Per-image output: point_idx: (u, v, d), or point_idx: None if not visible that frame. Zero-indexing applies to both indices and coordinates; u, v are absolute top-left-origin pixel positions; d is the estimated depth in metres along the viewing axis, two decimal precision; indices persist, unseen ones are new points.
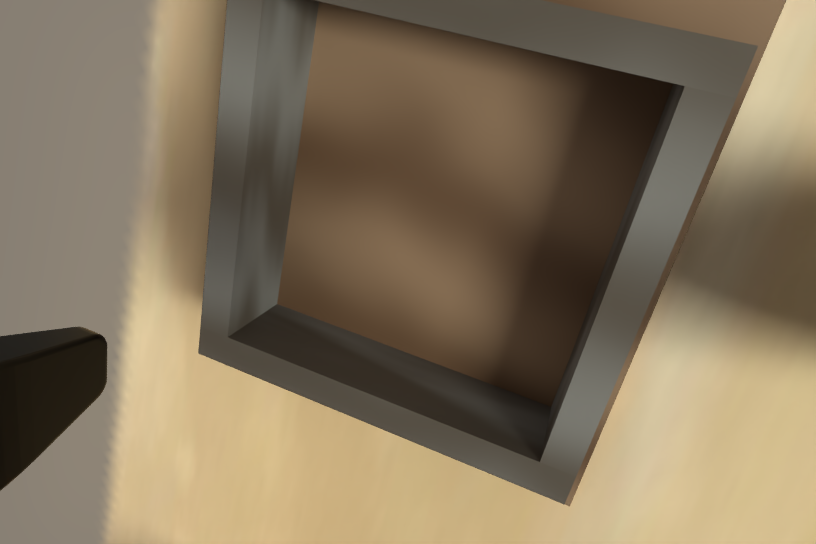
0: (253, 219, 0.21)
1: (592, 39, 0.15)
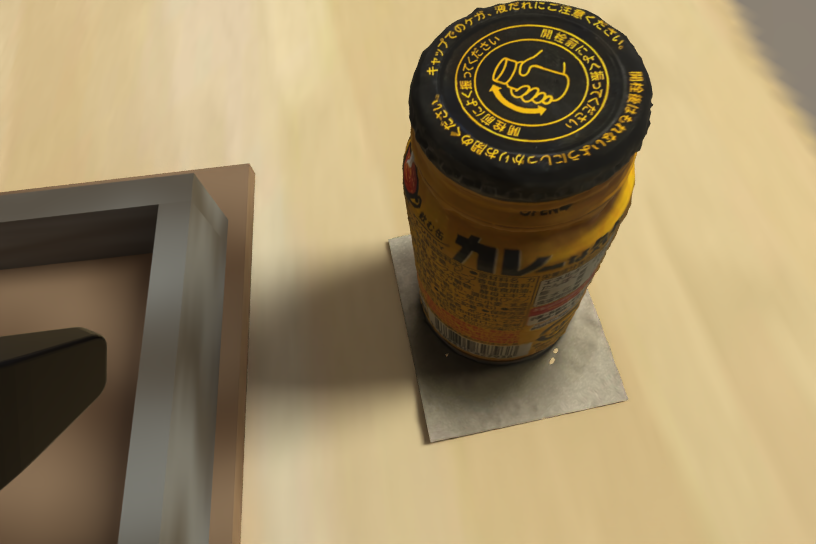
0: None
1: (94, 198, 0.21)
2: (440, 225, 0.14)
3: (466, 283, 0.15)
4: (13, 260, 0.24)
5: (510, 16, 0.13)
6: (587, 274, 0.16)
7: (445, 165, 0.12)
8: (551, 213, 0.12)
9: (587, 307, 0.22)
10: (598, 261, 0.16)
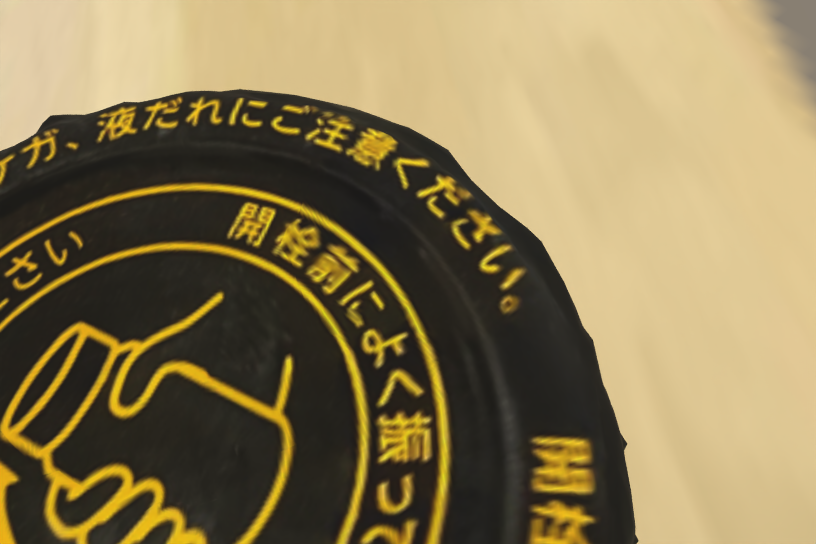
0: None
1: None
2: None
3: None
4: None
5: (140, 153, 0.04)
6: None
7: None
8: None
9: None
10: None
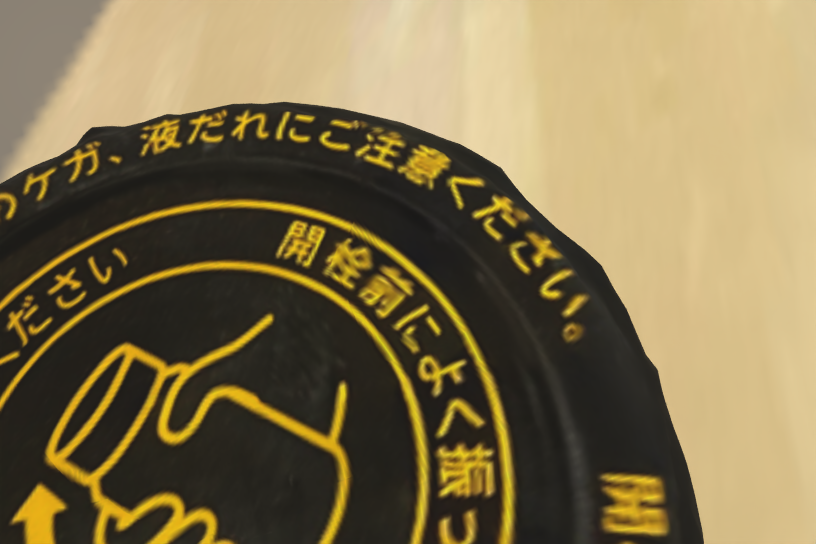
0: None
1: None
2: None
3: None
4: None
5: (186, 167, 0.04)
6: None
7: None
8: None
9: None
10: None
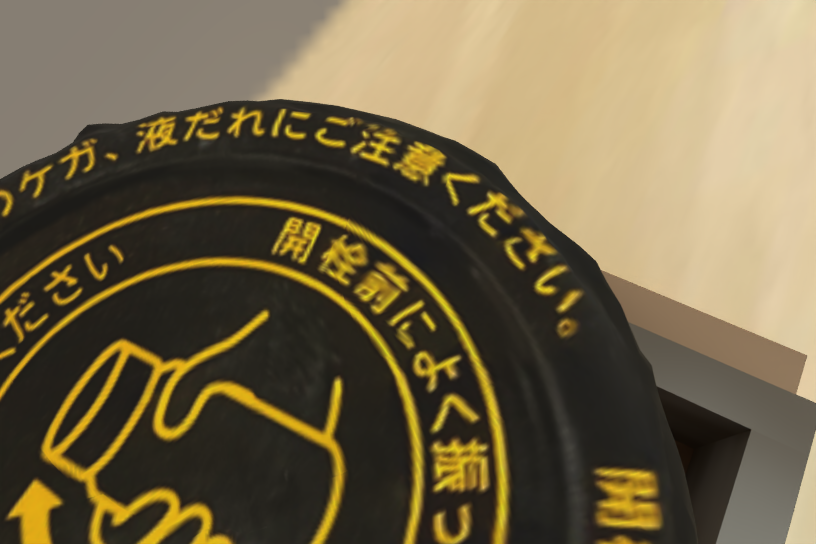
0: None
1: (649, 357, 0.14)
2: None
3: None
4: None
5: (182, 164, 0.04)
6: None
7: None
8: None
9: None
10: None
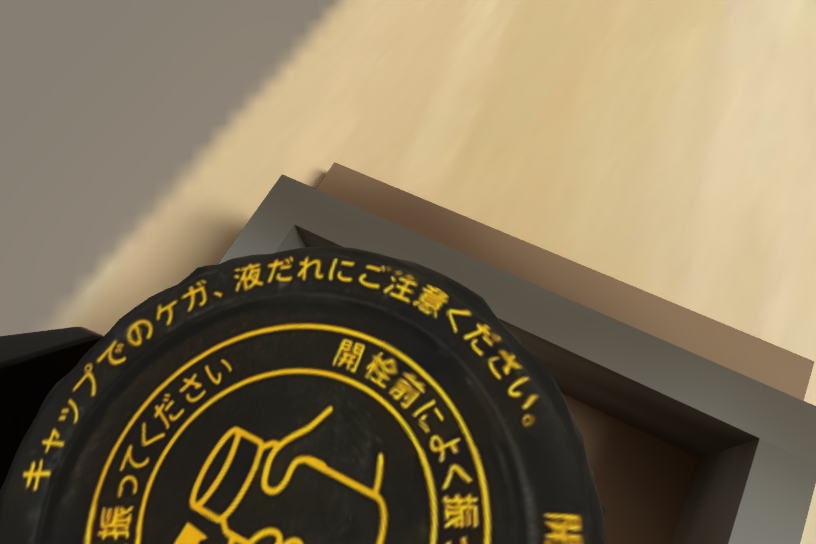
0: None
1: (652, 363, 0.13)
2: None
3: None
4: None
5: (267, 300, 0.05)
6: None
7: None
8: None
9: None
10: None
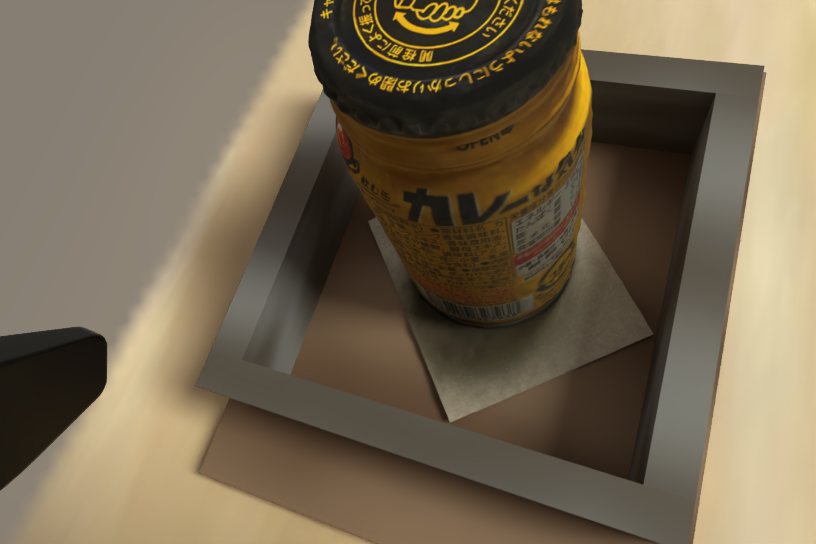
0: (304, 242, 0.20)
1: (635, 69, 0.19)
2: (383, 185, 0.13)
3: (433, 244, 0.14)
4: None
5: None
6: (565, 205, 0.14)
7: (359, 114, 0.11)
8: (493, 141, 0.11)
9: (590, 245, 0.21)
10: (574, 188, 0.14)
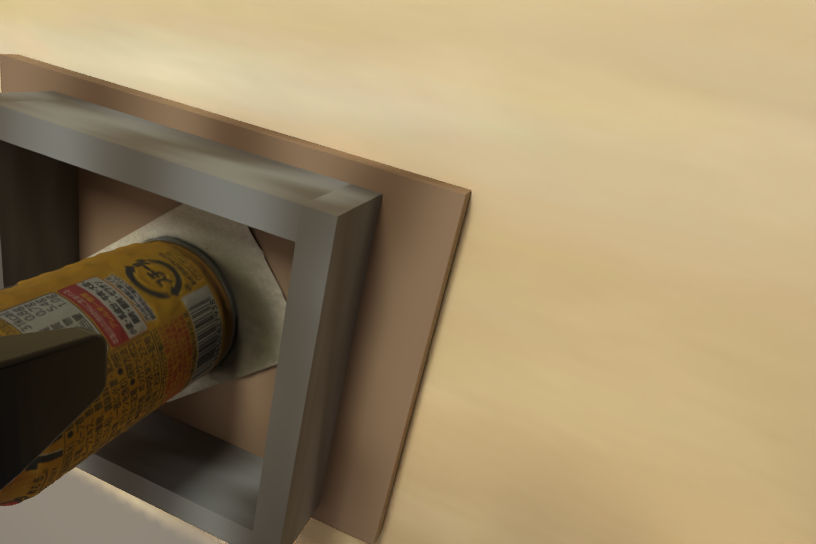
0: (170, 470, 0.24)
1: None
2: (27, 483, 0.16)
3: (95, 423, 0.17)
4: None
5: None
6: (57, 315, 0.17)
7: None
8: None
9: (161, 223, 0.23)
10: (42, 308, 0.17)
